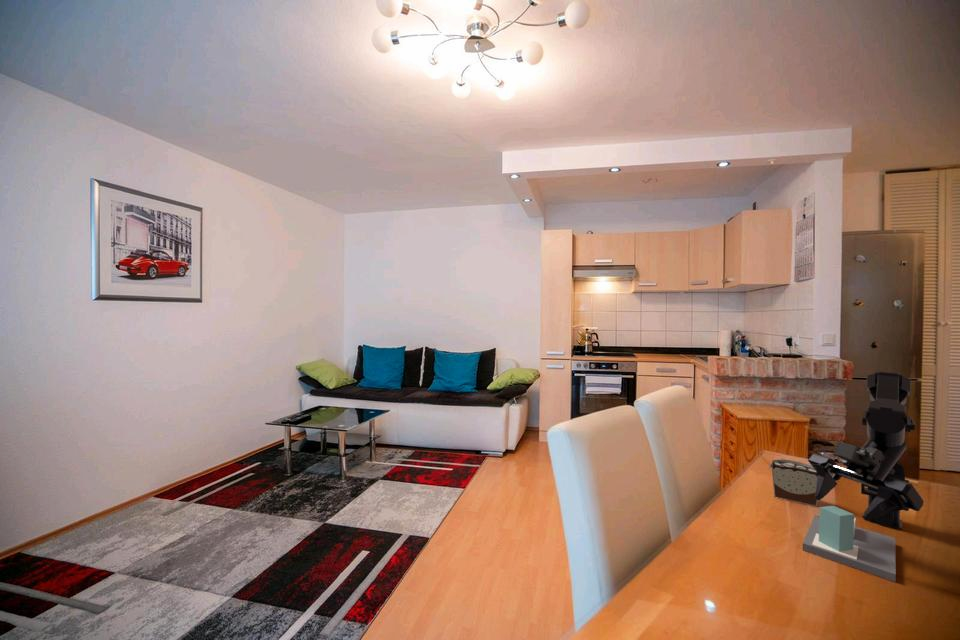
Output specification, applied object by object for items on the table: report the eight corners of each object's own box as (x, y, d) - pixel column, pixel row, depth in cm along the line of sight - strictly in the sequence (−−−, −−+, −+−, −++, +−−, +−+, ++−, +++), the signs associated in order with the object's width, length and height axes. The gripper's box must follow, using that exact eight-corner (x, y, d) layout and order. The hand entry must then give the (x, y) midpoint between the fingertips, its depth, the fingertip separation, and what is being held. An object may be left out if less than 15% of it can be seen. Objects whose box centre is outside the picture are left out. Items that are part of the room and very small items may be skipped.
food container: (819, 500, 113) (820, 465, 113) (824, 508, 108) (825, 471, 108) (766, 488, 119) (767, 455, 119) (768, 496, 114) (769, 461, 114)
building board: (814, 520, 100) (815, 504, 100) (894, 544, 90) (895, 527, 90) (802, 549, 86) (803, 531, 86) (895, 582, 76) (896, 561, 76)
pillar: (832, 539, 88) (833, 505, 88) (853, 549, 84) (854, 514, 84) (818, 541, 87) (819, 507, 87) (838, 551, 83) (840, 515, 83)
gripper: (815, 420, 96) (777, 467, 94) (915, 443, 78) (872, 504, 75) (838, 451, 98) (802, 498, 95) (941, 481, 80) (900, 541, 77)
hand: (839, 508), depth 86 cm, fingers open, 9 cm apart
